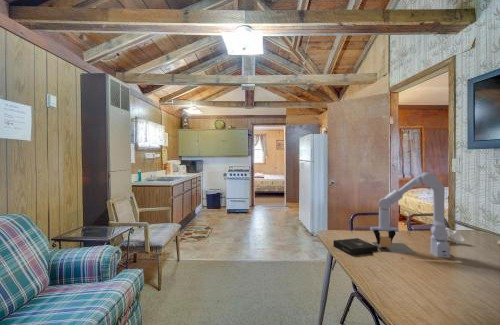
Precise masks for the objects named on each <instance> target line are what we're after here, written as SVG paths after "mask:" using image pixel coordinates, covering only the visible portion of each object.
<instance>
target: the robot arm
mask: <svg viewBox="0 0 500 325" xmlns="http://www.w3.org/2000/svg"><path fill="white" fill-rule="evenodd" d="M423 184H424V185H426V186H428V187H429V188H430V189H431V190H433V191H432V192H433V193H432V194H433V196H432V197H433V200H432V201H433V208H432V210H433V212H432V214H433V215H432V216H433V217H432V218H433V220H432V225H431V227H430V232H431V234H432V235H431V236H430V250H429V251H430V254H431V255H433V256H435V257H437V258H443V259H446V258H448V259H451V246H450V243H448V238H447V236H448V233H447V231H448V230H446V228H447V227H446V223H445V186H444V184H443V183H442V181H441V180H440V179H439V177H438V176H436V175H435V174H433V173H432V172H431V173H430V172H427V171H425V172H422V173H420V174H418V175H416V176H415V177H413V178H412V179H410V180H409V181H408V182H406V184H404V185H403V186H401V187H400V188H399V189H398V188H397V189H394V190H393V189H392V190H390V192H389V193H388V194H386V195H383V198H380V199H379V201H378V206H379V207H378V210H379V211H378V226H370V228H369V230H370V231H371V232H373V234H374V236H375V241H376V242H377V244H379V243H380V240H379V238H380V235H381V232H388V236H389V237H390V238H391V243H393V239H394V238H395V236H396V233H399V232H400V231H399V227H392V226H391V210H390V208H391V206H392V205H394V204H396V203H397V202H398V201H400V200H401V199H403V196H404V194H406V193H407V192H409V191H410V190H411V189H413V188H415V187H416V186H423Z"/></svg>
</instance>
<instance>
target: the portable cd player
mask: <svg viewBox="0 0 500 325" xmlns="http://www.w3.org/2000/svg"><path fill="white" fill-rule="evenodd" d="M333 247H334V248H335V249H338V250H339V251H340V252H343V253H346V254H347V255H348V256H351V257H353V256H354V257H355V256H361V255H362V254H363V255H369V254H370V255H371V253H372V254H373V252H379V249H378V247H377V246H375V245H374V244H373V243H370V242H367V241H365V240H363V239H360V238H359V237H358V238H356V237H355V238H347V239H345V238H344V239H337V240H336V239H334V240H333Z"/></svg>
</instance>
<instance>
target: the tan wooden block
mask: <svg viewBox="0 0 500 325" xmlns="http://www.w3.org/2000/svg"><path fill="white" fill-rule="evenodd" d="M379 240H380V243H379V244H378V245H379V246H380V247H391V238H390V237H389V235H386V234H385V235H384V234H383V235H381V234H380V238H379Z"/></svg>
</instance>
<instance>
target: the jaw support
mask: <svg viewBox="0 0 500 325" xmlns="http://www.w3.org/2000/svg"><path fill="white" fill-rule="evenodd" d="M446 231H447V233H448V236H447V240H448V239H449V241H450V242H452V243H455V244H458V245H460V244H462V243H463V242H465V238H464V237H463V236H462V235H461V234H460V233H459V231H458V229H456V230H452V229H451V228H449V227H446Z"/></svg>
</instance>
